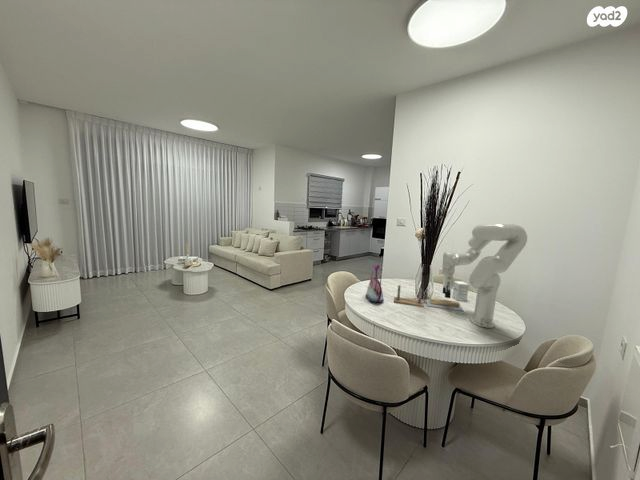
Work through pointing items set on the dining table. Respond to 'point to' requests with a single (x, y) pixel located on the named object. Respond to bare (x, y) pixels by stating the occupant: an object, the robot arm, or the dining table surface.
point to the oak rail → (444, 302)
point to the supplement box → (460, 290)
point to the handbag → (375, 288)
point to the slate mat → (444, 306)
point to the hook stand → (409, 301)
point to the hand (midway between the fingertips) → (446, 295)
